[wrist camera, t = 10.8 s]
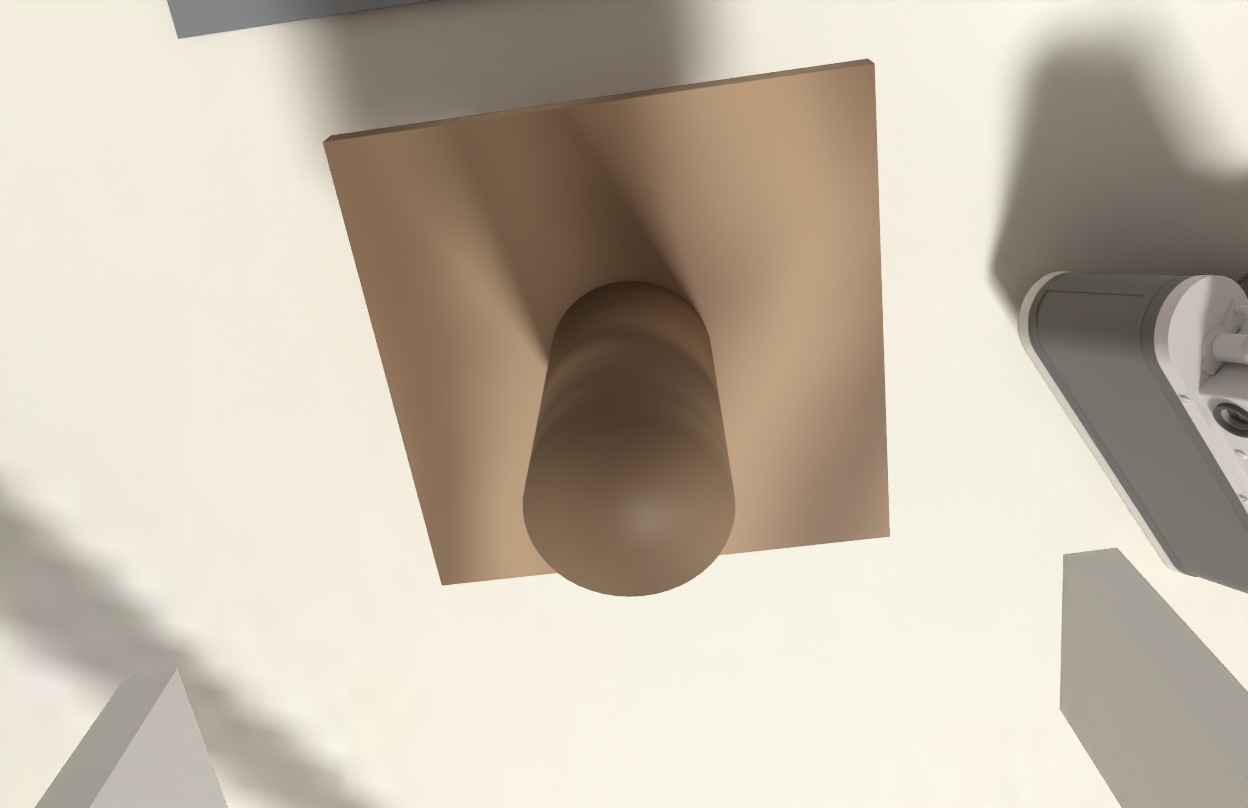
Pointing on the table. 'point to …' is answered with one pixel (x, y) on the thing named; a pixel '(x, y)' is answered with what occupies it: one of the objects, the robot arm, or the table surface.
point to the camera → (1156, 401)
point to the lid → (632, 324)
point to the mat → (259, 12)
